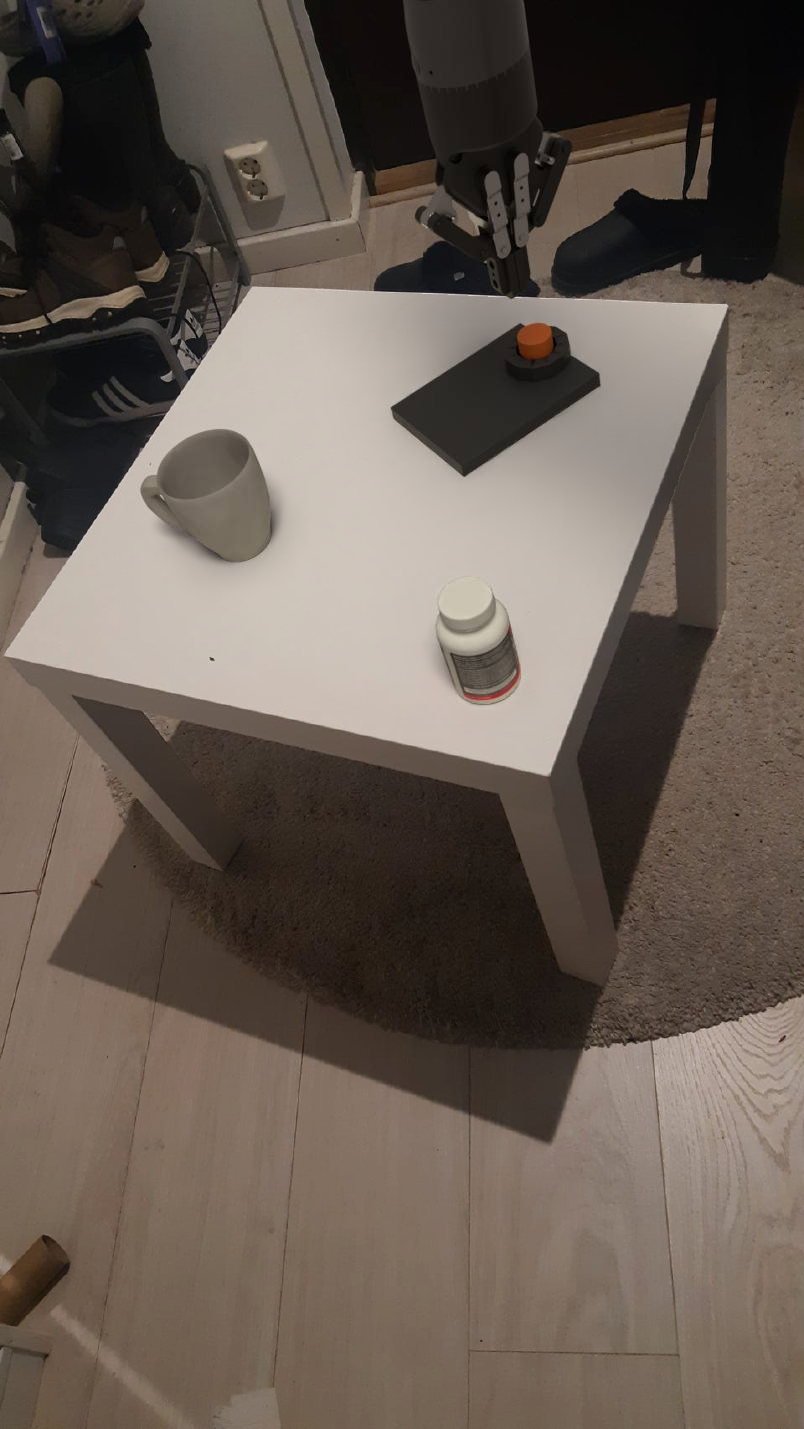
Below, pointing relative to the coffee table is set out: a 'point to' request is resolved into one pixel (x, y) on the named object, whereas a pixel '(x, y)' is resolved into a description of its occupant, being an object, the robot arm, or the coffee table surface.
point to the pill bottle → (477, 641)
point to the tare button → (535, 341)
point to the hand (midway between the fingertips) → (513, 291)
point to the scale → (494, 399)
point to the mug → (213, 493)
